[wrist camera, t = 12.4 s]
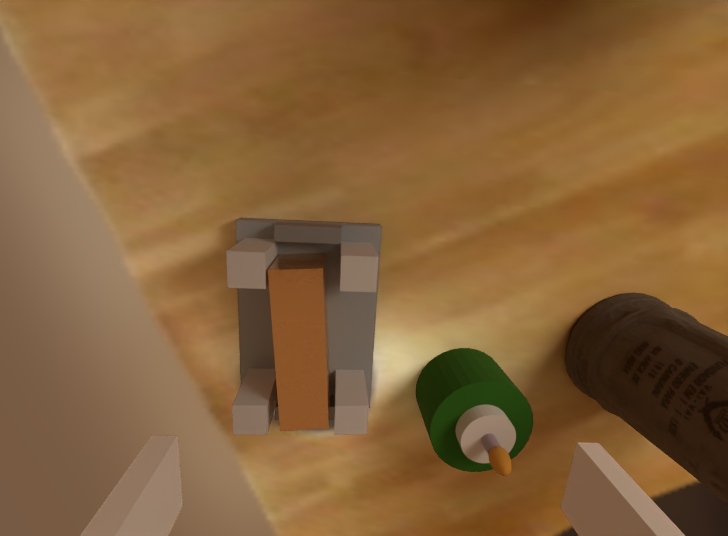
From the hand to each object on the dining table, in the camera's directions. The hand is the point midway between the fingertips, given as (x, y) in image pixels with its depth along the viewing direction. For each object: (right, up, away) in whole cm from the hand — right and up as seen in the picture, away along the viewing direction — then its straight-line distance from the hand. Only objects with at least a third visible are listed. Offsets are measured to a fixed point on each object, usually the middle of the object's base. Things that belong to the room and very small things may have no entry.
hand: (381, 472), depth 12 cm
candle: (+8, -4, +22) cm, 24 cm away
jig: (-5, +3, +19) cm, 20 cm away
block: (-5, +2, +18) cm, 19 cm away
